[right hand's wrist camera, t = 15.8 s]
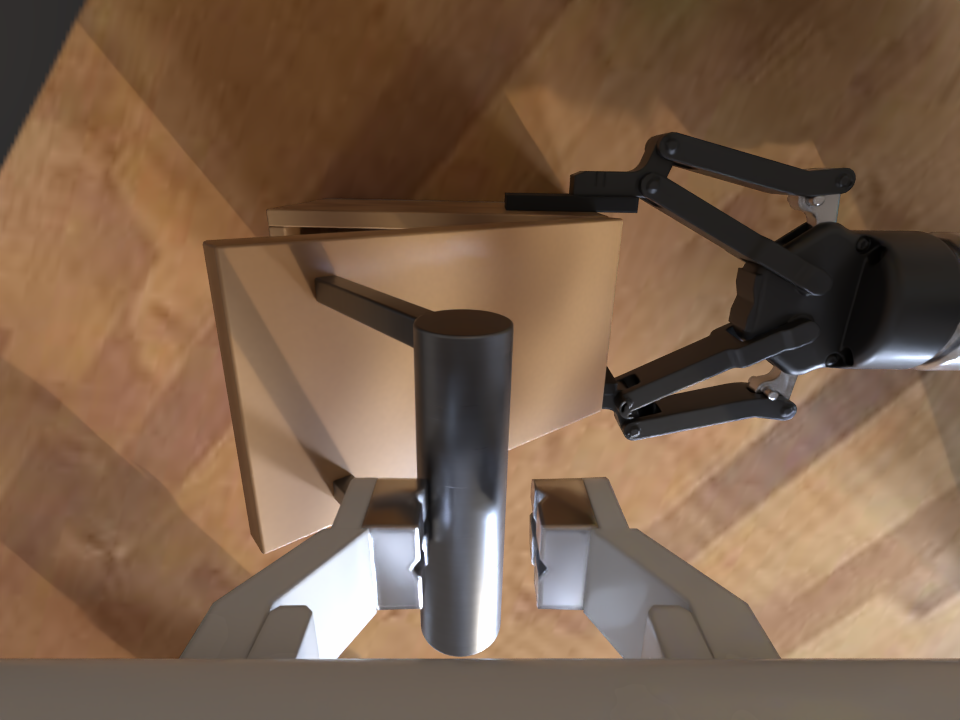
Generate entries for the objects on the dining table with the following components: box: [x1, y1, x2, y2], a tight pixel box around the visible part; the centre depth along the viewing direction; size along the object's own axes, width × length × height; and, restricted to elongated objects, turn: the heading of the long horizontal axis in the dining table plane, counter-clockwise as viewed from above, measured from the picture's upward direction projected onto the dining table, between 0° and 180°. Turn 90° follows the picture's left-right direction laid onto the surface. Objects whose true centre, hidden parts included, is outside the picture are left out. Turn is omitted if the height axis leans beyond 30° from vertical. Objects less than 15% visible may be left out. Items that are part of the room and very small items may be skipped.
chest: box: [266, 198, 608, 237], centre depth 29 cm, size 16×9×10 cm, turn 89°
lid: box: [203, 217, 623, 657], centre depth 17 cm, size 16×9×8 cm
